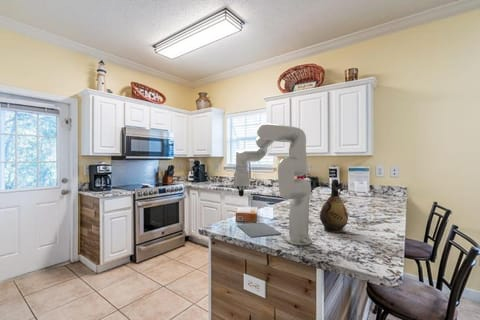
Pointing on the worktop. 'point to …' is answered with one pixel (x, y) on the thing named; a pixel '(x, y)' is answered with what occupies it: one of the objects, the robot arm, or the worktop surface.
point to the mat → (258, 230)
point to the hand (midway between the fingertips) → (241, 196)
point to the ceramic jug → (334, 211)
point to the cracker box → (246, 214)
